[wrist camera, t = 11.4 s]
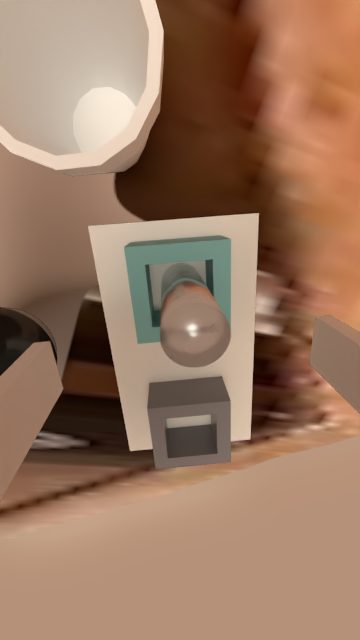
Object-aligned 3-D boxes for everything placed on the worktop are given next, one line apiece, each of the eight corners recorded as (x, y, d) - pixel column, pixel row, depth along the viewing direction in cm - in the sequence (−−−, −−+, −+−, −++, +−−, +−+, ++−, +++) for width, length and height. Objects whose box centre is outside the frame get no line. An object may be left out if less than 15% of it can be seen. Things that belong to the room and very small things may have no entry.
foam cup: (157, 198, 25) (152, 183, 13) (57, 185, 24) (-46, 155, 12) (168, 73, 22) (173, -100, 10) (52, 52, 21) (-98, -166, 9)
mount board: (131, 441, 36) (125, 483, 31) (92, 225, 26) (72, 228, 20) (247, 430, 37) (261, 469, 31) (253, 213, 26) (277, 212, 21)
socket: (141, 324, 28) (137, 343, 24) (130, 242, 25) (123, 247, 21) (221, 318, 29) (230, 335, 24) (220, 235, 25) (231, 238, 21)
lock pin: (163, 302, 28) (163, 370, 16) (159, 264, 26) (156, 306, 14) (201, 299, 28) (230, 364, 16) (199, 261, 26) (231, 299, 14)
